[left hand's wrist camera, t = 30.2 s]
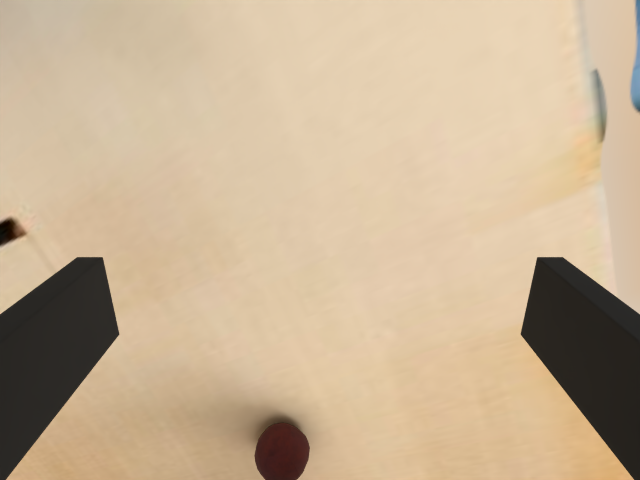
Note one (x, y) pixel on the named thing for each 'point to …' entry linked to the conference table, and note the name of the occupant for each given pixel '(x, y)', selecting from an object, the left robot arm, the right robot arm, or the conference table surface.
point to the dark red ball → (282, 452)
